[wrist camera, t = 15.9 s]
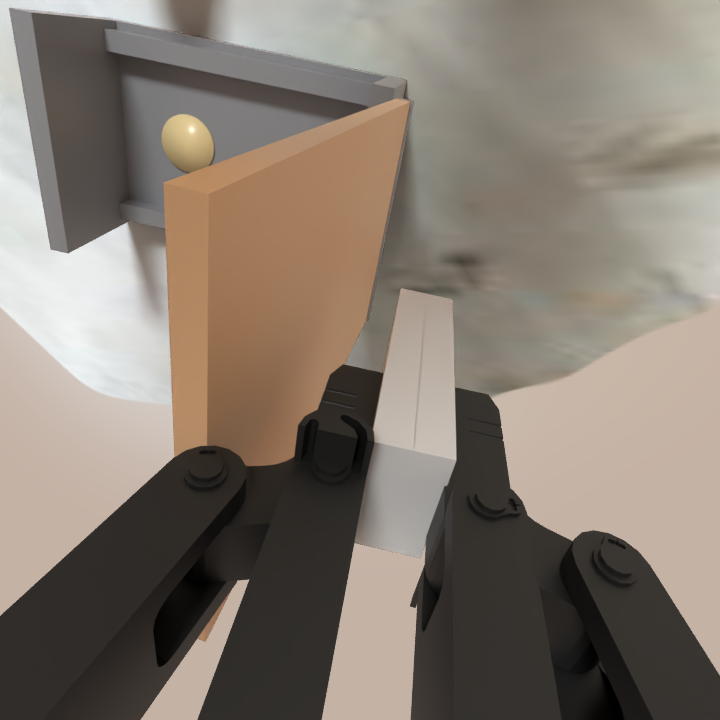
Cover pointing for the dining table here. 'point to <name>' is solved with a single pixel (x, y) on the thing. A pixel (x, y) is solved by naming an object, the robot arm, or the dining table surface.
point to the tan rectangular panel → (275, 279)
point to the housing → (158, 112)
